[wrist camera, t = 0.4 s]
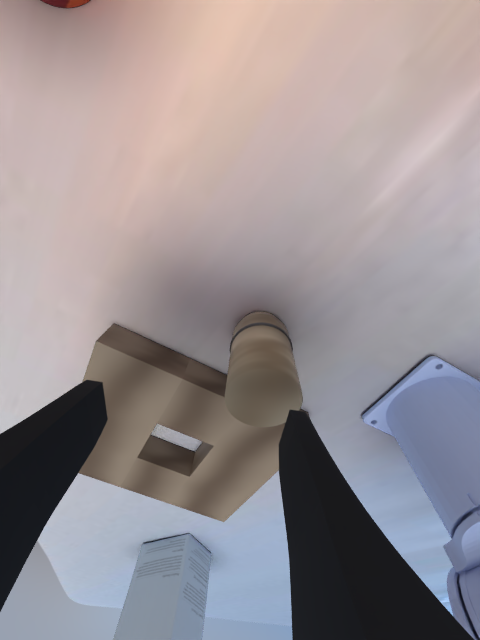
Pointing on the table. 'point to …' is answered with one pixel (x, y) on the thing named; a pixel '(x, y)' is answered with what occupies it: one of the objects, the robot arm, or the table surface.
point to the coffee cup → (66, 3)
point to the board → (180, 415)
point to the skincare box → (167, 592)
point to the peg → (262, 372)
